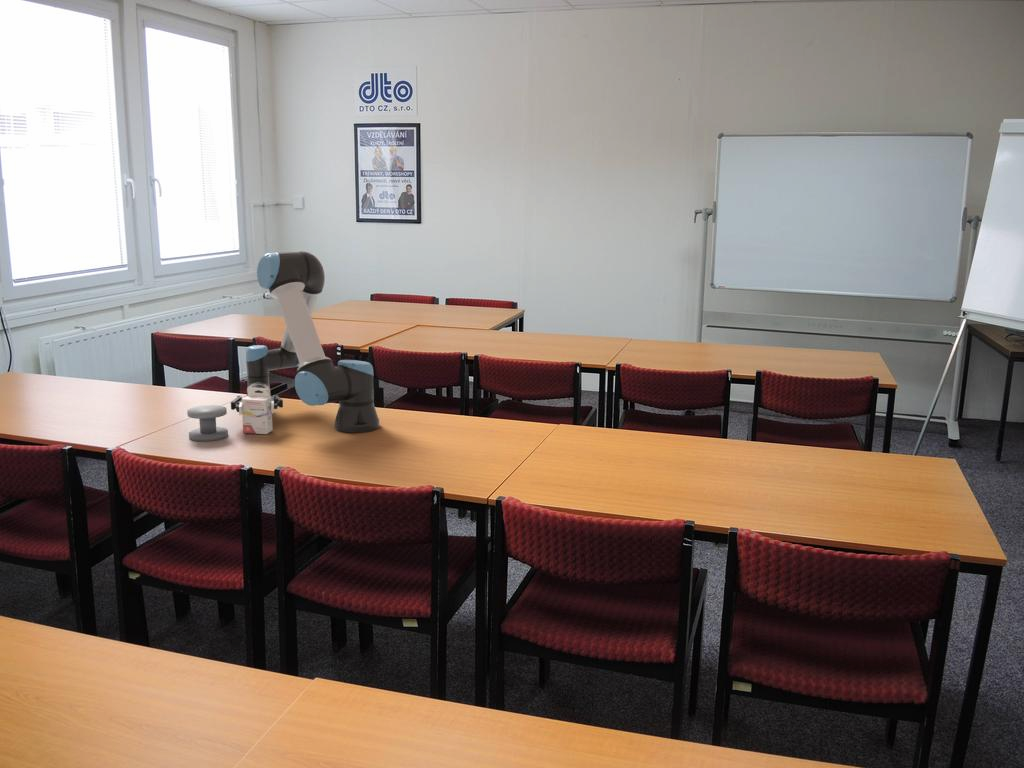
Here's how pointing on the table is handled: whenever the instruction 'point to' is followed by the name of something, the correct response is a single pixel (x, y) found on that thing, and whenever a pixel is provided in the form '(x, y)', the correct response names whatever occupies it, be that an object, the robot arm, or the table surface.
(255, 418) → the ink cartridge box
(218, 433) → the stand
